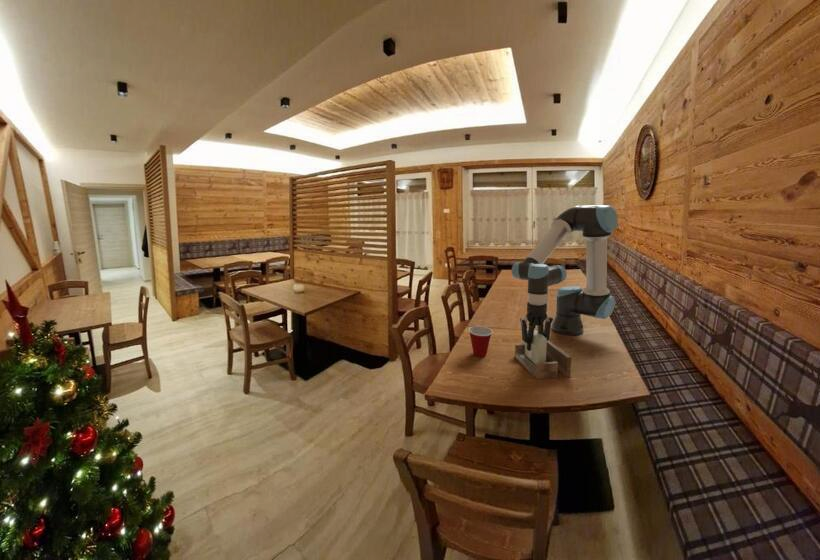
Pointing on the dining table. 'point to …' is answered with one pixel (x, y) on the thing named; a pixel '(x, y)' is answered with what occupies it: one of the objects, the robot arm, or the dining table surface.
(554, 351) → the track
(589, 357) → the dining table surface
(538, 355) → the door panel
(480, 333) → the plastic cup
